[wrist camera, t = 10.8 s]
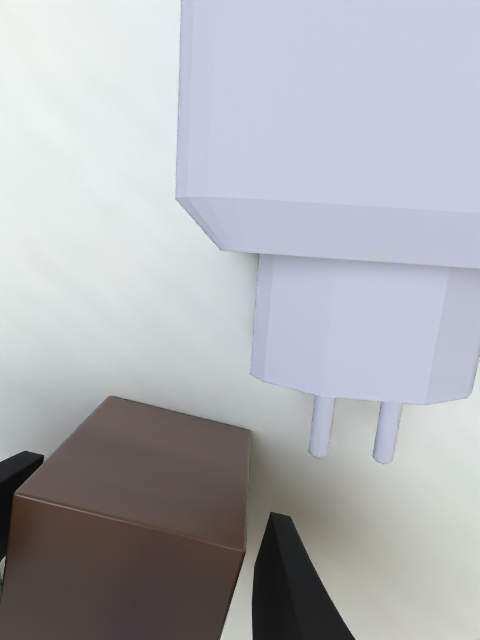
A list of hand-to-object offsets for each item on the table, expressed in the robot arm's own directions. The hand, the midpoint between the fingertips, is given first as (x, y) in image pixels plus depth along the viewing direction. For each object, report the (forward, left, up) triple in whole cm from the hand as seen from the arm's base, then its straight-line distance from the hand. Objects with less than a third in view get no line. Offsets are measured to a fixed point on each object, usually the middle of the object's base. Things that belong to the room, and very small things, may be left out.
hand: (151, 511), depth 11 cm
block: (0, 0, -2) cm, 2 cm away
